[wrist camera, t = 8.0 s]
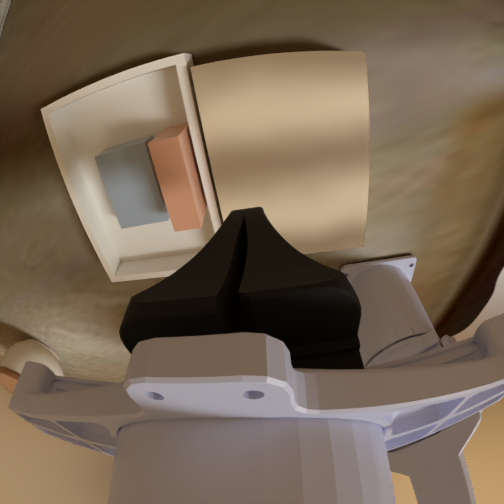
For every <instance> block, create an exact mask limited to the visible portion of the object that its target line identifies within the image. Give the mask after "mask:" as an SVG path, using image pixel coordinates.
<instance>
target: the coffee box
mask: <svg viewBox="0 0 504 504" xmlns="http://www.w3.org/2000/svg"><path fill="white" fill-rule="evenodd" d="M10 3H11V0H0V36H1V33H2V29H3V25H4V22H5V18H6V15H7V12H8V9H9V6H10Z"/></svg>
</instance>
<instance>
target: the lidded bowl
mask: <svg viewBox="0 0 504 504" xmlns="http://www.w3.org/2000/svg"><path fill="white" fill-rule="evenodd" d="M26 361H31V362H37V363H42V364H44V365H46V366H47V367H49V368H50V369H51V370H52V371H53V372H54V373H55V375H57V376H64V372H63V369H62V367H61V364H60V359H59V357H58V356H57V354H56V353H55V352H54V351H53V350H51V349H50V348H49V347H48V346H46V345H45V344H43V343H41V342H39V341H37V340H34V339H27V340H26V341H20V342H17V343H15V344H13V345H12V346H11V347H10V348H9V349H8V350H7V351H6V352H5V354H4V355H3V357H2V359H1V360H0V383H1V385H2V386H4V387H5V388H6V389H7V390H8V391H9V392H11V393H12V394H13V392H14V390H15V387H16V384H17V382H18V379H19V377H20V375H21V372H22V370H23V368H24V365H25V363H26Z"/></svg>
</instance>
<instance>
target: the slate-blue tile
mask: <svg viewBox="0 0 504 504" xmlns="http://www.w3.org/2000/svg"><path fill="white" fill-rule="evenodd" d="M152 139H153V135H152V136H148V137H144V138H140V139H137V140H133V141H130V142H126V143H123V144H120V145H116V146H113V147H110V148H107V149H104V150H103V151H102V152H100V153H99V154H98V155H97V156H95V157H94V158H95V161H96V164H97V167H98V169H99V172H100V175H101V178H102V181H103V183H104V186H105V189H106V191H107V194H108V197H109V199H110V202H111V204H112V207H113V210H114V212H115V214H116V217H117V219H118V222H119V224H120V227H121V229H123V228H129V227H134V226H140V225H145V224H151V223H157V222H163V221H168V220H169V218H170V216H169V213H168V210H167V207H166V204H165V201H164V197H163V194H162V191H161V188H160V184H159V181H158V178H157V174H156V171H155V167H154V164H153V160H152V157H151V153H150V150H149V146H148V143H149V142H150V141H151V140H152Z"/></svg>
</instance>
